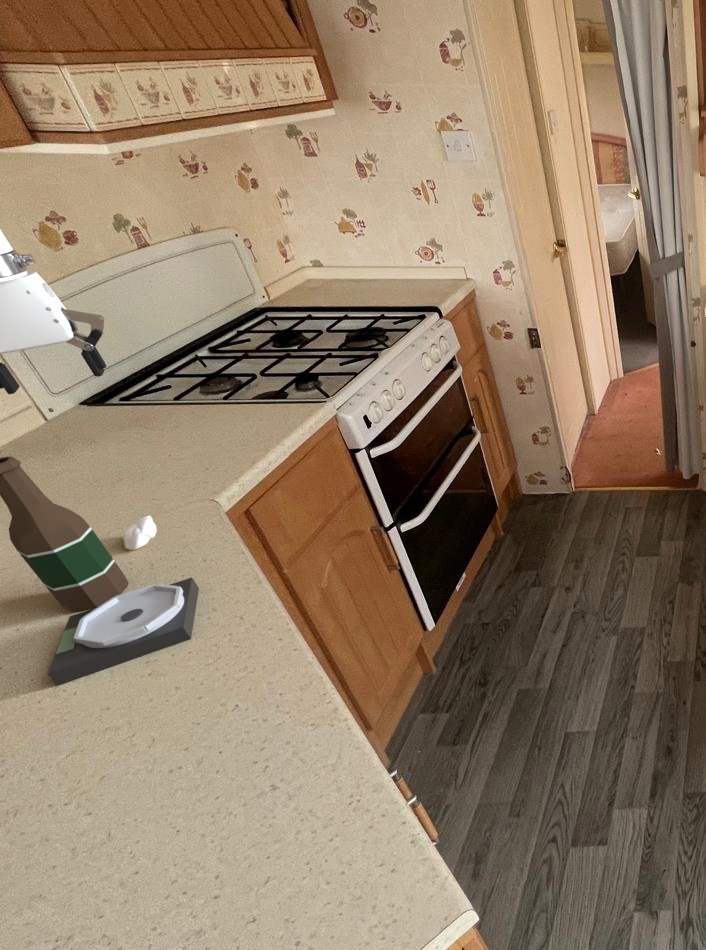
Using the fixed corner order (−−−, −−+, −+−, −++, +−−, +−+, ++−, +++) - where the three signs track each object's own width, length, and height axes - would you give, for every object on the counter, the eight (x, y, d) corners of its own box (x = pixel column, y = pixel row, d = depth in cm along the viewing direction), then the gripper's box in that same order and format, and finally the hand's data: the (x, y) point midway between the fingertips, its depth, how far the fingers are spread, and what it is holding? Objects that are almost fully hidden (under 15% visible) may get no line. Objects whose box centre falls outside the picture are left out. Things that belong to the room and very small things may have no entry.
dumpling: (168, 542, 115) (150, 528, 112) (132, 560, 112) (113, 546, 110) (162, 519, 118) (145, 505, 116) (128, 535, 116) (109, 521, 113)
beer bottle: (129, 572, 108) (38, 441, 95) (131, 595, 103) (34, 461, 90) (63, 595, 103) (-41, 461, 91) (62, 621, 98) (-50, 483, 86)
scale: (57, 685, 88) (40, 666, 86) (78, 627, 97) (63, 608, 95) (191, 638, 94) (178, 619, 92) (199, 588, 104) (187, 570, 102)
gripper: (72, 253, 100) (135, 360, 109) (-97, 275, 92) (-15, 389, 100) (62, 263, 95) (129, 374, 103) (-119, 287, 86) (-30, 407, 95)
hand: (58, 382), depth 102 cm, fingers open, 9 cm apart
